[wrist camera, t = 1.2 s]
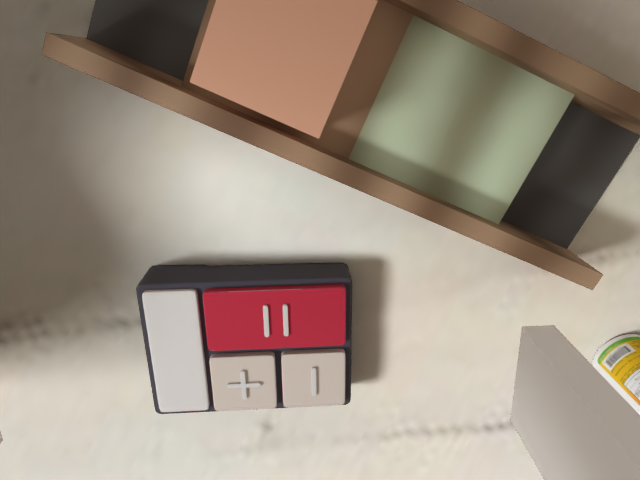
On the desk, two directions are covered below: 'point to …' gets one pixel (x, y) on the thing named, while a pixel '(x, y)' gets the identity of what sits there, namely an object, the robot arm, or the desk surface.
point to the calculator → (247, 336)
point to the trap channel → (411, 117)
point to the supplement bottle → (621, 366)
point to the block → (282, 55)
